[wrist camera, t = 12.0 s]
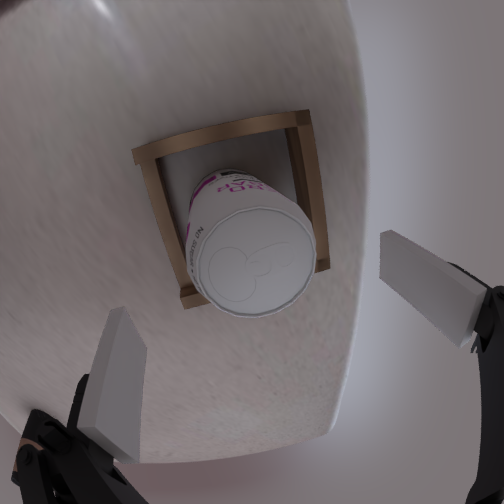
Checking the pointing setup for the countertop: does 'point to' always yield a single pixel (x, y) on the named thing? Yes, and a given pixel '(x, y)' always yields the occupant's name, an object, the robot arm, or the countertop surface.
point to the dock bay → (292, 122)
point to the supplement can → (247, 245)
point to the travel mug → (30, 436)
